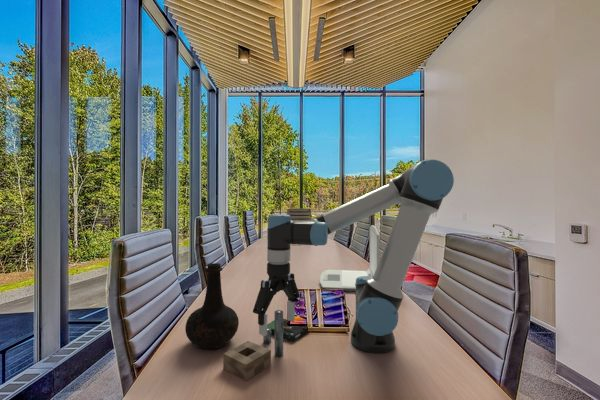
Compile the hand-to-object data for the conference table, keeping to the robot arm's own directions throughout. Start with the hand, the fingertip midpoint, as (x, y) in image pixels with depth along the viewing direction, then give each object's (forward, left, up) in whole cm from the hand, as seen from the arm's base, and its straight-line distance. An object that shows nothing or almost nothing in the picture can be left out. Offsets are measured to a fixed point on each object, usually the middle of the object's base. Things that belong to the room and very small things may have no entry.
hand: (277, 327), depth 96 cm
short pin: (+9, -4, -9) cm, 13 cm away
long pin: (0, 0, -9) cm, 9 cm away
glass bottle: (+24, +8, -9) cm, 27 cm away
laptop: (+22, -89, -10) cm, 93 cm away
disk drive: (+9, -14, -10) cm, 19 cm away
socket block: (+3, +11, -9) cm, 14 cm away
